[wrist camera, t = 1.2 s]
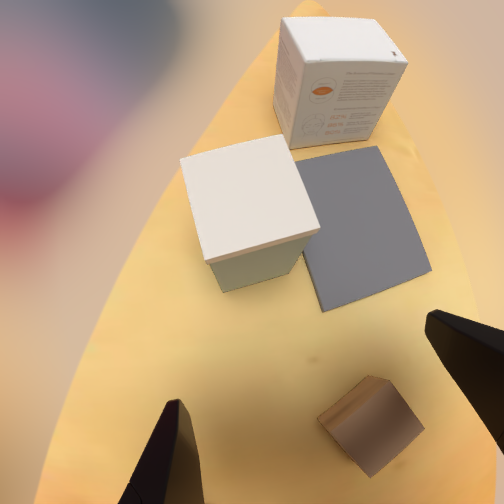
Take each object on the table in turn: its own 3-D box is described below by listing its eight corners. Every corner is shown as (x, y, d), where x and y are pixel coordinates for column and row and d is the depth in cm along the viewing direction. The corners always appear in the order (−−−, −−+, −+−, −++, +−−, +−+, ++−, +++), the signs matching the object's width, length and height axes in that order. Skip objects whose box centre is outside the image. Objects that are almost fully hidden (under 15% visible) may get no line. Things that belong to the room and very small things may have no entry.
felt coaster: (428, 272, 24) (432, 270, 23) (322, 312, 23) (324, 311, 22) (374, 149, 27) (377, 145, 26) (272, 170, 26) (272, 167, 25)
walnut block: (400, 418, 21) (424, 428, 17) (352, 459, 20) (370, 478, 16) (367, 375, 22) (389, 380, 18) (316, 418, 21) (329, 432, 17)
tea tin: (290, 274, 24) (320, 227, 14) (222, 294, 23) (204, 260, 13) (269, 211, 25) (282, 133, 15) (204, 229, 24) (179, 158, 15)
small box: (347, 98, 29) (377, 18, 18) (368, 142, 27) (412, 62, 17) (270, 104, 28) (279, 14, 18) (286, 151, 26) (304, 60, 16)
